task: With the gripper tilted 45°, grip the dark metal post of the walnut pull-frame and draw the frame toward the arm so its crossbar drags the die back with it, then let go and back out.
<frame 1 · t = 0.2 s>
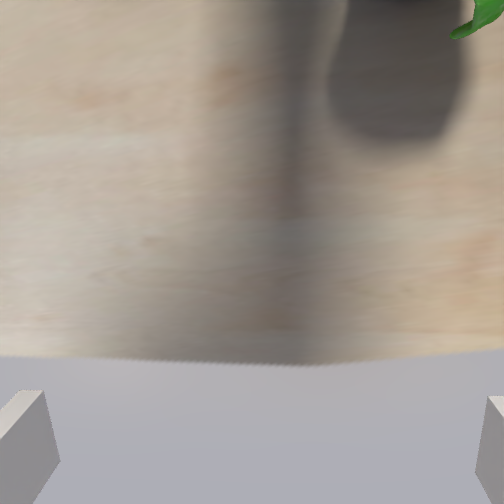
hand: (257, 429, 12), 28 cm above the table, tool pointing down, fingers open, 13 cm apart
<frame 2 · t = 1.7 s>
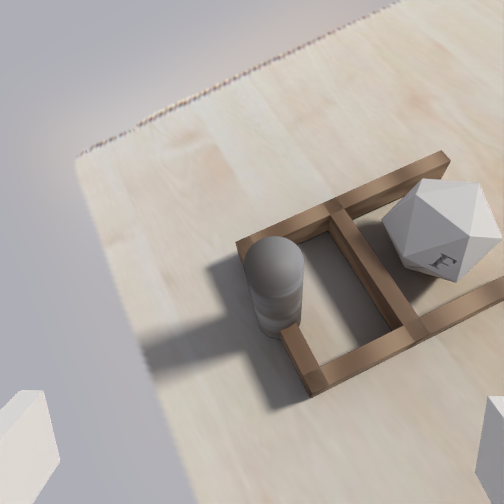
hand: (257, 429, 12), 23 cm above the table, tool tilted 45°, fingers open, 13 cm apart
die: (425, 249, 40), on the table
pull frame: (385, 243, 33), point 6 cm above the table, slide at 0.0 cm
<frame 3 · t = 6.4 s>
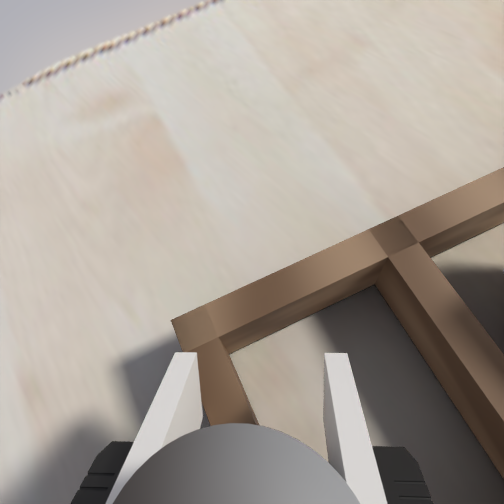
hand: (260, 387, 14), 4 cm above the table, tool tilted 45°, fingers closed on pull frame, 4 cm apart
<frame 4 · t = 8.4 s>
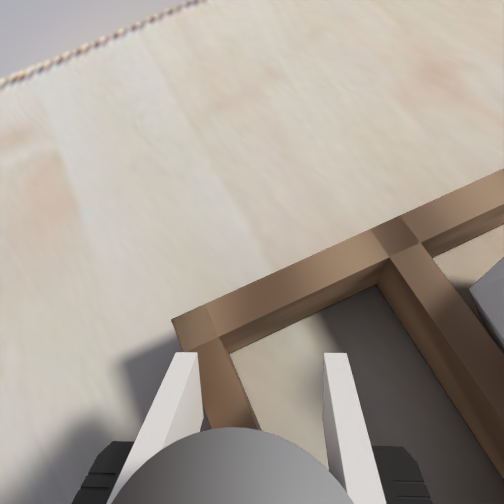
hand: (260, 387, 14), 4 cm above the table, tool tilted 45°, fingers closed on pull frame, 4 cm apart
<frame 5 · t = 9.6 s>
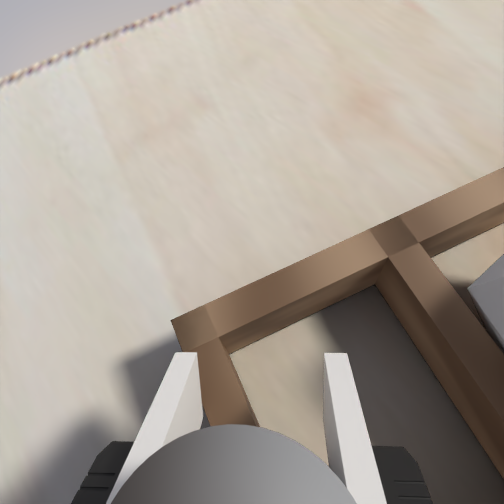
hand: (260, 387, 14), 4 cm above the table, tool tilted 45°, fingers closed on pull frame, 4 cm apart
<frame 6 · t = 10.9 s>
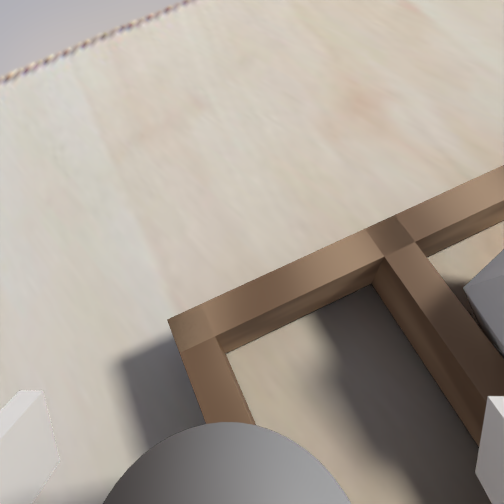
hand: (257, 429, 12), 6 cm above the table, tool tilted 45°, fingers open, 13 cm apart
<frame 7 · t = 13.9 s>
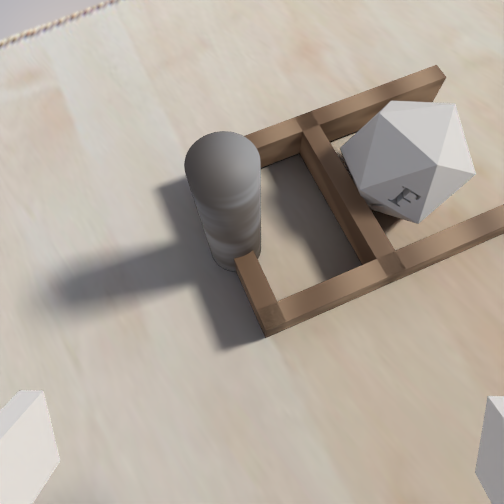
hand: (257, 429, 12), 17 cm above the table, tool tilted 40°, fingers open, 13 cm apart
die: (388, 188, 35), on the table
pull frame: (364, 161, 28), point 6 cm above the table, slide at 12.1 cm
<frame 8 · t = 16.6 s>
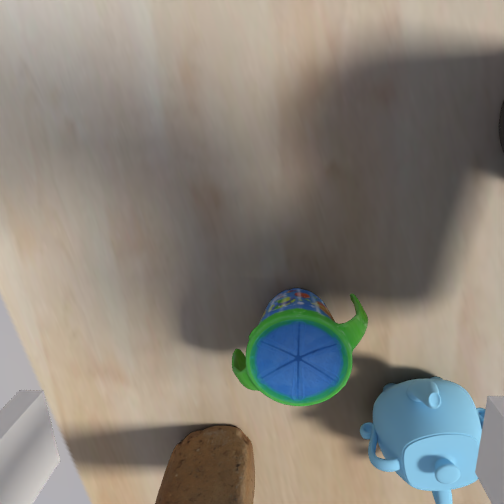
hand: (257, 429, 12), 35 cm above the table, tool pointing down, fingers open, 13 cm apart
block: (217, 443, 57), on the table
snack cup: (295, 314, 49), on the table
teapot: (414, 398, 52), on the table
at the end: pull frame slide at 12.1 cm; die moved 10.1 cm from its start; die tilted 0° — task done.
